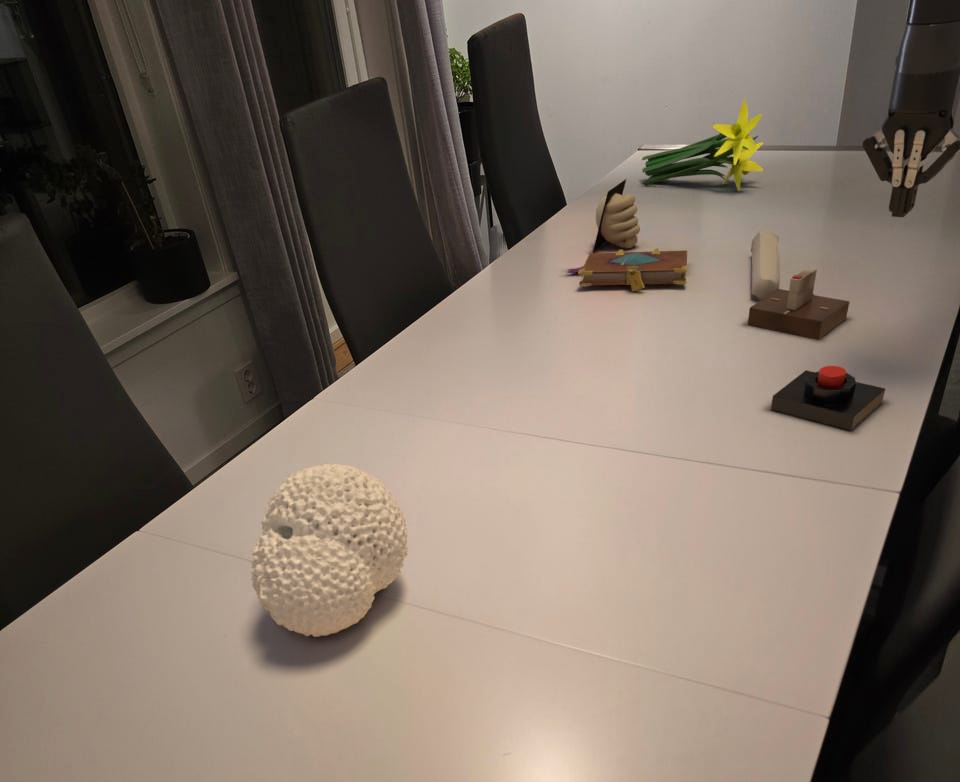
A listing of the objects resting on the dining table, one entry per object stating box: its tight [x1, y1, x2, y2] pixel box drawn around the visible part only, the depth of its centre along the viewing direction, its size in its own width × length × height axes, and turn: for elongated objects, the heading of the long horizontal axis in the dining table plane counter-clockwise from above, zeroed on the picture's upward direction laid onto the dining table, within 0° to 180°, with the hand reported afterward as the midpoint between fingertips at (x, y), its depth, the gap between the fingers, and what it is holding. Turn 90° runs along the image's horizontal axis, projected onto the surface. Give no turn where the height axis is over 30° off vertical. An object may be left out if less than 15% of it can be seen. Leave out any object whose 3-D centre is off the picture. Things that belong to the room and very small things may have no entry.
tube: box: [750, 230, 781, 301], centre depth 159 cm, size 5×5×25 cm
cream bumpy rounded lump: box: [250, 463, 409, 638], centre depth 93 cm, size 20×18×16 cm
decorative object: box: [592, 178, 641, 253], centre depth 179 cm, size 13×10×10 cm
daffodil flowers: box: [641, 98, 764, 192], centre depth 206 cm, size 17×15×35 cm
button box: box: [770, 369, 886, 432], centre depth 119 cm, size 12×10×4 cm
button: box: [817, 365, 847, 387], centre depth 118 cm, size 4×4×2 cm
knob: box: [786, 267, 818, 310], centre depth 140 cm, size 6×2×5 cm, turn 137°
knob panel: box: [747, 288, 850, 340], centre depth 143 cm, size 13×10×3 cm
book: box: [567, 248, 688, 292], centre depth 166 cm, size 16×25×5 cm, turn 77°
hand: (899, 215), depth 114 cm, fingers closed
